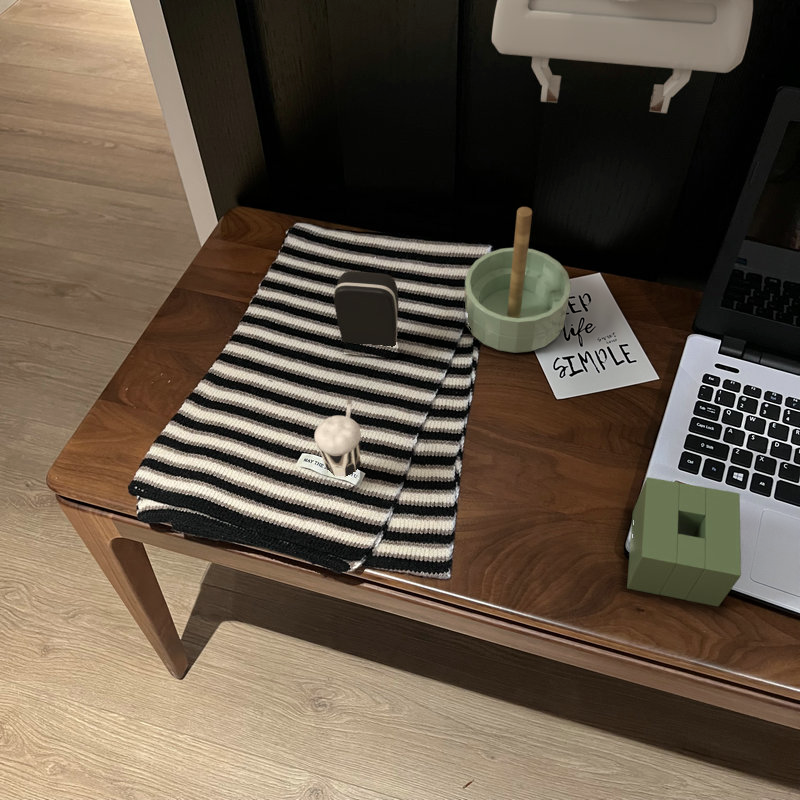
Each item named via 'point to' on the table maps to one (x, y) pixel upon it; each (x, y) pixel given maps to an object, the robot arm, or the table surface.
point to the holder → (685, 542)
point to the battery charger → (367, 308)
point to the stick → (519, 261)
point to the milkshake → (339, 443)
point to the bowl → (539, 301)
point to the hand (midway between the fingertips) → (603, 104)
